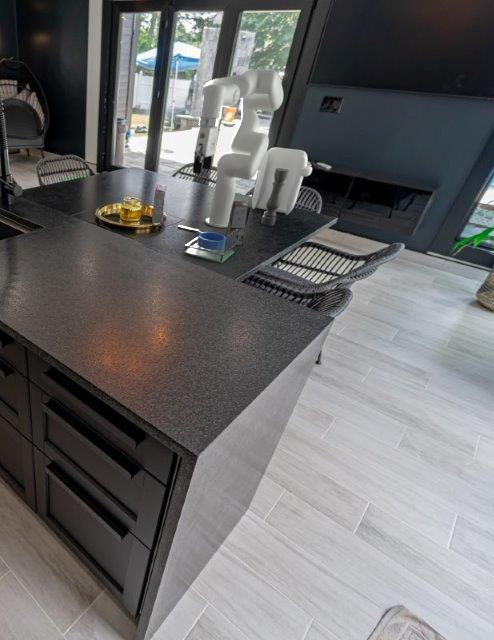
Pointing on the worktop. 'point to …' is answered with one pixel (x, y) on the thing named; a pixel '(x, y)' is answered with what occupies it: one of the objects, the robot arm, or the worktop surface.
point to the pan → (207, 238)
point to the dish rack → (213, 254)
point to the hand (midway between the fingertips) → (201, 170)
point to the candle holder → (274, 197)
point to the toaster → (290, 190)
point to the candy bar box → (159, 204)
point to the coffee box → (238, 220)
